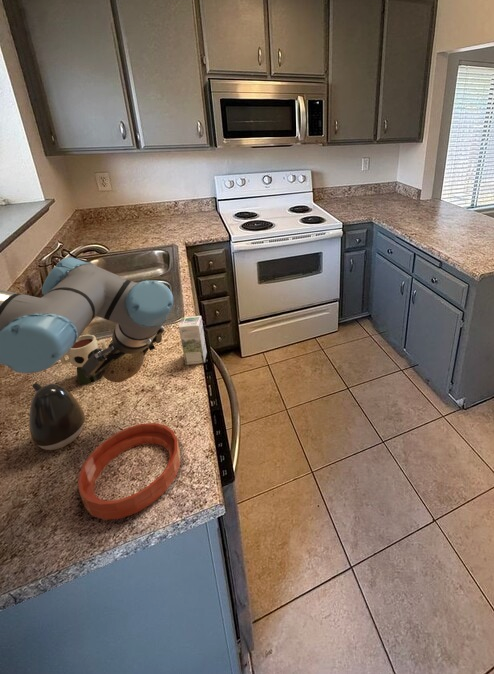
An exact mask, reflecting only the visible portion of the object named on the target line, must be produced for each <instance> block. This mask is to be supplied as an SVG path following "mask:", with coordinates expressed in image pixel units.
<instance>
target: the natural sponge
mask: <svg viewBox="0 0 494 674" xmlns="http://www.w3.org/2000/svg"><path fill="white" fill-rule="evenodd" d="M144 358H145V355H144V353H143V351H142V352H139V353H136V354H125V355H124V356H123V357H121V358H119V359H116V360H114V361H113V362H112V363H110V364H109V365H108V366H107V367H106V368H104V370H105V371H104V373H103V376H102V377H103V378H104V379H105V380H107V381H109V382H111V383H116V384H117V383H123V382H124V381H127V380H129V379H130V378H132V377H133V376H135V375H137V374H138V373H139V372H140V370H141V369H142V366H143V363H144Z"/></svg>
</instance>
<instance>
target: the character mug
mask: <svg viewBox="0 0 494 674" xmlns="http://www.w3.org/2000/svg"><path fill="white" fill-rule="evenodd" d="M99 345H101V347H99ZM97 348H100V349H103V350H104V349H106V348H107V344H106V341H105V339H101V340H98V341H97V338H96V336H95V335H94V334H83V335H82V334H81V335H80V336H79V337H78V339H77V340H76V342H75V343H74V345H73V347H72V348H71V349H70V350H69V351H68V352H67V353H66V354H65V355H63V356H62V357H61V358H60V359H59V361H60V363H61V364H62V365H66V364H69V363H70V364H71V365H72V366H73V367H75V368H76V376H77V382H78V383H79V384H80V385H89V384H92V382H91V381H93V382H97V381H98V380H97V378H96V376H92V375H91V377H88V378H86V376H85V374H84V372H83V370H82V368H81V367H82V366H83V365H84V364H85V363H86V361H87V360H88V359H89V358H90V357H91V356H92V354H93V351H94V350H95V349H97ZM67 356H68V359H66V358H65V357H67Z"/></svg>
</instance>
